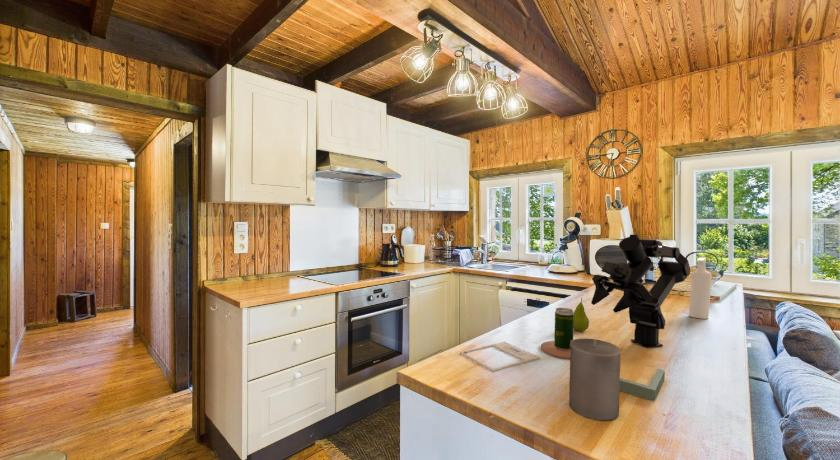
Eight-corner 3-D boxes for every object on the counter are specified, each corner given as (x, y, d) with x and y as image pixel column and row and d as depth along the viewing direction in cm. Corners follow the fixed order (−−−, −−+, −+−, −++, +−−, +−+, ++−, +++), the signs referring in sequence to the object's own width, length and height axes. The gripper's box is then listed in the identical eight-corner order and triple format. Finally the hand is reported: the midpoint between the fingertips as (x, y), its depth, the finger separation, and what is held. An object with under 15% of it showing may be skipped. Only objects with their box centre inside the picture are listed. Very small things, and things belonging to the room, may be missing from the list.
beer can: (574, 347, 109) (575, 309, 109) (571, 352, 104) (572, 312, 104) (556, 343, 112) (557, 306, 112) (552, 349, 107) (553, 310, 107)
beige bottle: (712, 315, 150) (715, 257, 149) (706, 321, 142) (708, 259, 141) (693, 312, 155) (695, 256, 154) (686, 317, 147) (688, 257, 146)
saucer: (567, 341, 116) (567, 339, 116) (596, 357, 104) (596, 354, 104) (532, 345, 113) (532, 342, 113) (558, 361, 100) (558, 358, 100)
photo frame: (540, 356, 102) (493, 369, 93) (540, 360, 102) (493, 373, 93) (504, 341, 115) (460, 351, 105) (504, 344, 115) (460, 354, 106)
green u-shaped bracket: (591, 361, 101) (592, 352, 101) (664, 380, 89) (664, 370, 89) (575, 377, 90) (575, 367, 90) (654, 401, 79) (655, 390, 79)
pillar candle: (576, 392, 82) (577, 329, 82) (623, 407, 76) (625, 339, 75) (562, 410, 75) (563, 341, 74) (613, 428, 69) (615, 352, 68)
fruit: (570, 331, 127) (570, 298, 126) (569, 326, 133) (570, 295, 132) (589, 334, 124) (590, 300, 124) (588, 329, 130) (589, 297, 130)
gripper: (597, 250, 117) (567, 284, 115) (644, 256, 99) (610, 296, 97) (616, 273, 120) (587, 306, 117) (666, 283, 101) (633, 323, 99)
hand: (602, 307), depth 108 cm, fingers open, 9 cm apart
